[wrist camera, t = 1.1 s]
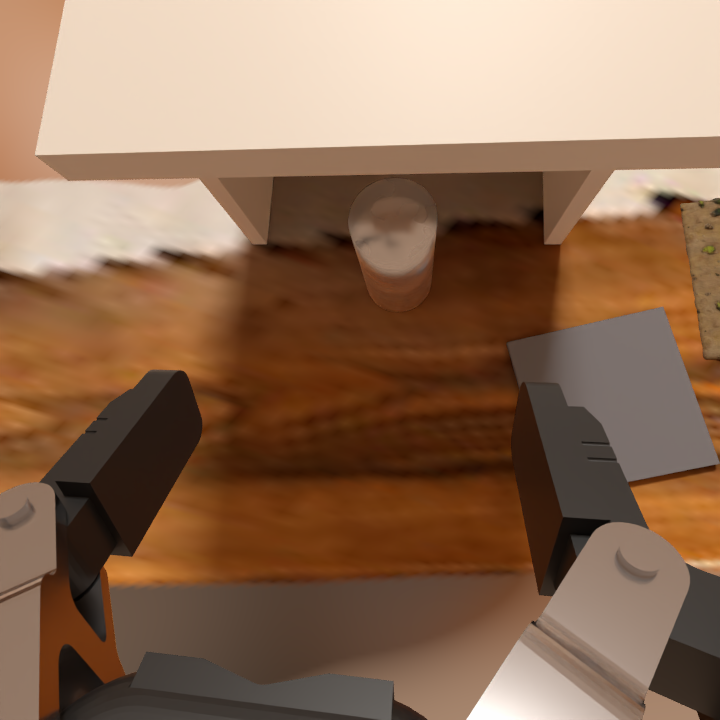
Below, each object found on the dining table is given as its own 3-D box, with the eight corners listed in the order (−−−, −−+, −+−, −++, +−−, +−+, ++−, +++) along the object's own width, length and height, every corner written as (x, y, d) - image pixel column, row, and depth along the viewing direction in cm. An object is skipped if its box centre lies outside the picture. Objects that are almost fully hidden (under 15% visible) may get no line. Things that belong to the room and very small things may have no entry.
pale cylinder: (374, 318, 35) (358, 270, 25) (360, 259, 36) (340, 190, 26) (438, 303, 35) (447, 248, 25) (423, 243, 36) (425, 168, 26)
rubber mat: (549, 496, 31) (551, 497, 31) (506, 343, 34) (507, 342, 33) (715, 463, 30) (719, 463, 30) (660, 308, 33) (663, 306, 32)
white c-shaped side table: (245, 315, 36) (35, 155, 16) (261, 155, 39) (96, -156, 19) (562, 321, 33) (786, 134, 13) (558, 148, 36) (741, -234, 16)
